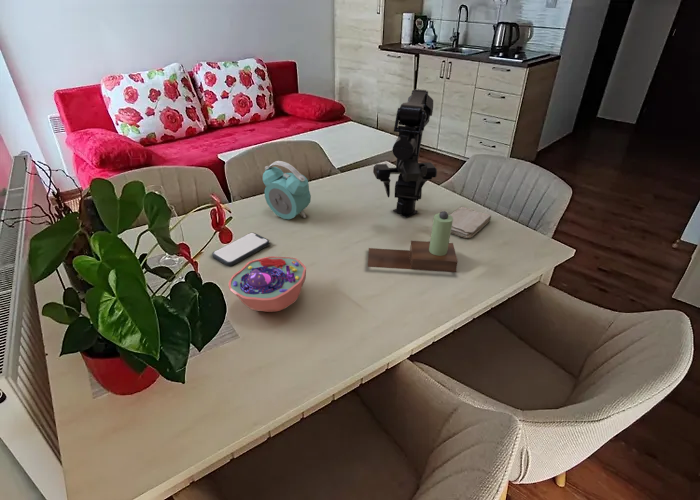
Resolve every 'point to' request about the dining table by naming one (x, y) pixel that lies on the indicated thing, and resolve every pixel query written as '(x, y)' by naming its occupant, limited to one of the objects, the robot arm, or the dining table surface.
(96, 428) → the dining table surface
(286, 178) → the alarm clock
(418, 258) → the spice riser
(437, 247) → the pepper mill
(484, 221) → the washcloth
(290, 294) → the cell model
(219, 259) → the smartphone
